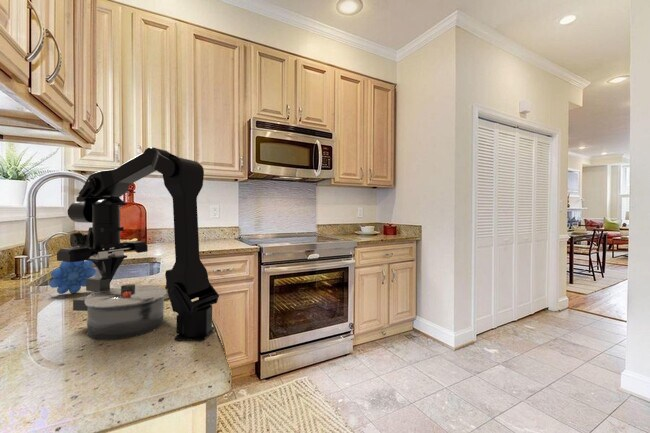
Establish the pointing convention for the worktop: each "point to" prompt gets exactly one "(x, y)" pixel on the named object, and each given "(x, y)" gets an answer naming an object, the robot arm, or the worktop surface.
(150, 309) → the cooker pot
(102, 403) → the worktop surface
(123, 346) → the worktop surface
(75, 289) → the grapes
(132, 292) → the cooker lid
